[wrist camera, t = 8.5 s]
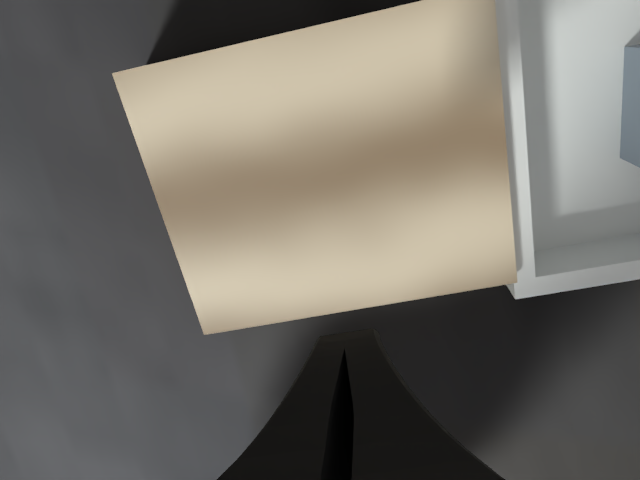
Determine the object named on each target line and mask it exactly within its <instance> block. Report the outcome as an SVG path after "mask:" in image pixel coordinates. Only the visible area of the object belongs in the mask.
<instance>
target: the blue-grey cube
mask: <svg viewBox="0 0 640 480" xmlns="http://www.w3.org/2000/svg"><path fill="white" fill-rule="evenodd" d="M620 158H621V159H623V160H625V161H627V162H629V163H631V164H633V165H635V166H637V167H639V168H640V44H636V45H631V46H625V47H624V68H623V92H622V116H621V140H620Z"/></svg>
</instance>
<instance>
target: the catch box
mask: <svg viewBox="0 0 640 480" xmlns="http://www.w3.org/2000/svg"><path fill="white" fill-rule="evenodd" d="M495 8H496V21H497V33H498V46H499V58H500V71H501V83H502V96H503V108H504V121H505V133H506V146H507V158H508V171H509V183H510V196H511V208H512V221H513V233H514V246H515V258H516V271H517V283H512V284H506V286H507V287H508V289H509V290H510V292H511V294H512V295H513V297H514V298H515V299H521V298H527V297H534V296H540V295H546V294H552V293H558V292H564V291H570V290H576V289H583V288H589V287H595V286H601V285H607V284H613V283H619V282H625V281H632V280H638V279H640V168H639V167H637V166H635V165H633V164H631V163H629V162H627V161H625V160H623V159H621V158H620V140H621V116H622V92H623V68H624V47H625V46H631V45H636V44H640V0H495Z"/></svg>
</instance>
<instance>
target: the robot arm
mask: <svg viewBox="0 0 640 480" xmlns="http://www.w3.org/2000/svg"><path fill="white" fill-rule="evenodd" d="M217 480H505V479H504V478H502V477H501V476H499V475H498V474H497V473H496V472H494V471H493V470H492V469H491V468H489V467H488V466H487V465H486V464H484V463H483V462H482V461H481V460H479V459H478V458H477V457H476V456H475V455H473V454H472V453H471V452H470V451H468V450H467V449H466V448H465V447H464V446H463V445H461V444H460V443H459V442H458V441H457V440H456V439H455V438H454V437H453V436H452V435H451V434H450V433H449V432H448V431H447V430H446V429H445V428H444V427H443V426H442V425H441V424H440V423H439V422H438V421H437V420H436V419H435V418H434V417H433V416H432V415H431V414H430V413H429V411H428V410H427V409H426V408H425V407H424V406H423V404H422V403H421V402H420V401H419V400H418V398H417V397H416V396H415V395H414V393H413V392H412V391H411V390H410V388H409V387H408V386H407V384H406V383H405V381H404V380H403V378H402V377H401V375H400V374H399V373H398V371H397V370H396V368H395V367H394V365H393V363H392V362H391V360H390V358H389V356H388V355H387V353H386V351H385V349H384V347H383V344H382V342H381V339H380V336H379V332H378V331H376V330H375V329H373V328H372V329H366V330H359V331H353V332H347V333H339V334H333V335H326V336H320V337H319V339H318V340H317V341H316V343H315V345H314V347H313V349H312V351H311V353H310V355H309V357H308V359H307V361H306V363H305V364H304V366H303V368H302V370H301V372H300V373H299V375H298V377H297V378H296V380H295V382H294V383H293V385H292V387H291V388H290V390H289V392H288V393H287V395H286V396H285V398H284V399H283V401H282V402H281V404H280V405H279V407H278V408H277V410H276V411H275V412H274V414H273V415H272V417H271V418H270V420H269V421H268V422H267V424H266V425H265V426H264V428H263V429H262V430H261V432H260V433H259V434H258V436H257V437H256V438H255V439H254V440H253V442H252V443H251V444H250V445H249V446H248V448H247V449H246V450H245V451H244V452H243V453H242V455H241V456H240V457H239V458H238V459H237V460H236V461H235V462H234V463H233V464H232V465H231V466H230V467H229V468H228V469H227V470H226V471H225V472H224V473H223V474H222V475H221V476H220V477H219V478H218V479H217Z"/></svg>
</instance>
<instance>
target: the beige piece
mask: <svg viewBox="0 0 640 480" xmlns="http://www.w3.org/2000/svg"><path fill="white" fill-rule="evenodd" d="M112 75H113V78H114V81H115V83H116V86H117V89H118V92H119V95H120V98H121V100H122V103H123V106H124V109H125V112H126V115H127V117H128V120H129V123H130V126H131V129H132V132H133V134H134V137H135V140H136V143H137V146H138V149H139V151H140V154H141V157H142V160H143V163H144V166H145V168H146V171H147V174H148V177H149V180H150V183H151V185H152V188H153V191H154V194H155V197H156V200H157V202H158V205H159V208H160V211H161V214H162V217H163V219H164V222H165V225H166V228H167V231H168V234H169V236H170V239H171V242H172V245H173V248H174V251H175V253H176V256H177V259H178V262H179V265H180V268H181V270H182V273H183V276H184V279H185V282H186V285H187V287H188V290H189V293H190V296H191V299H192V302H193V304H194V307H195V310H196V313H197V316H198V319H199V321H200V324H201V327H202V330H203V333H204V335H207V334H213V333H219V332H225V331H231V330H236V329H242V328H248V327H254V326H260V325H266V324H272V323H278V322H284V321H290V320H296V319H302V318H308V317H314V316H320V315H326V314H332V313H338V312H344V311H350V310H356V309H362V308H368V307H374V306H380V305H386V304H392V303H398V302H404V301H410V300H416V299H422V298H428V297H434V296H440V295H446V294H452V293H458V292H464V291H470V290H476V289H482V288H488V287H494V286H500V285H506V284H512V283H517V271H516V258H515V246H514V233H513V221H512V208H511V196H510V183H509V171H508V158H507V146H506V133H505V121H504V108H503V96H502V83H501V71H500V58H499V46H498V33H497V21H496V8H495V0H422V1H417V2H413V3H409V4H405V5H400V6H396V7H392V8H388V9H383V10H379V11H375V12H371V13H366V14H362V15H358V16H354V17H349V18H345V19H341V20H337V21H332V22H328V23H324V24H320V25H315V26H311V27H307V28H303V29H298V30H294V31H290V32H286V33H281V34H277V35H273V36H269V37H264V38H260V39H256V40H252V41H247V42H243V43H239V44H235V45H230V46H226V47H222V48H218V49H213V50H209V51H205V52H201V53H196V54H192V55H188V56H184V57H179V58H175V59H171V60H167V61H162V62H158V63H154V64H150V65H145V66H141V67H137V68H133V69H128V70H124V71H120V72H116V73H112Z"/></svg>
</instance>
